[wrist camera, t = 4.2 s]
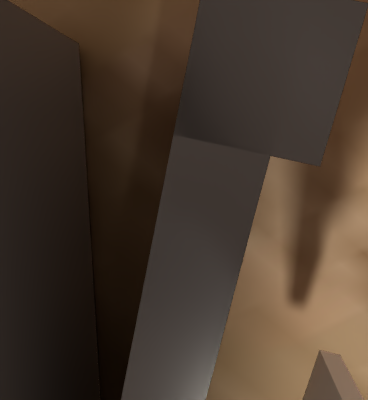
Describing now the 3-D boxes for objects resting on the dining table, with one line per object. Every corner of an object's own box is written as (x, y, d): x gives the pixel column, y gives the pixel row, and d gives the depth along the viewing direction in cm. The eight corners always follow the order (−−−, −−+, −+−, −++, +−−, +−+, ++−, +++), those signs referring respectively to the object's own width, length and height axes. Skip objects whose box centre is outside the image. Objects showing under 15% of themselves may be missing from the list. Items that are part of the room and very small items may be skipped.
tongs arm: (106, 503, 18) (37, 727, 11) (53, 496, 18) (-45, 711, 12) (78, 43, 14) (-67, -45, 7) (8, 45, 14) (-199, -37, 7)
